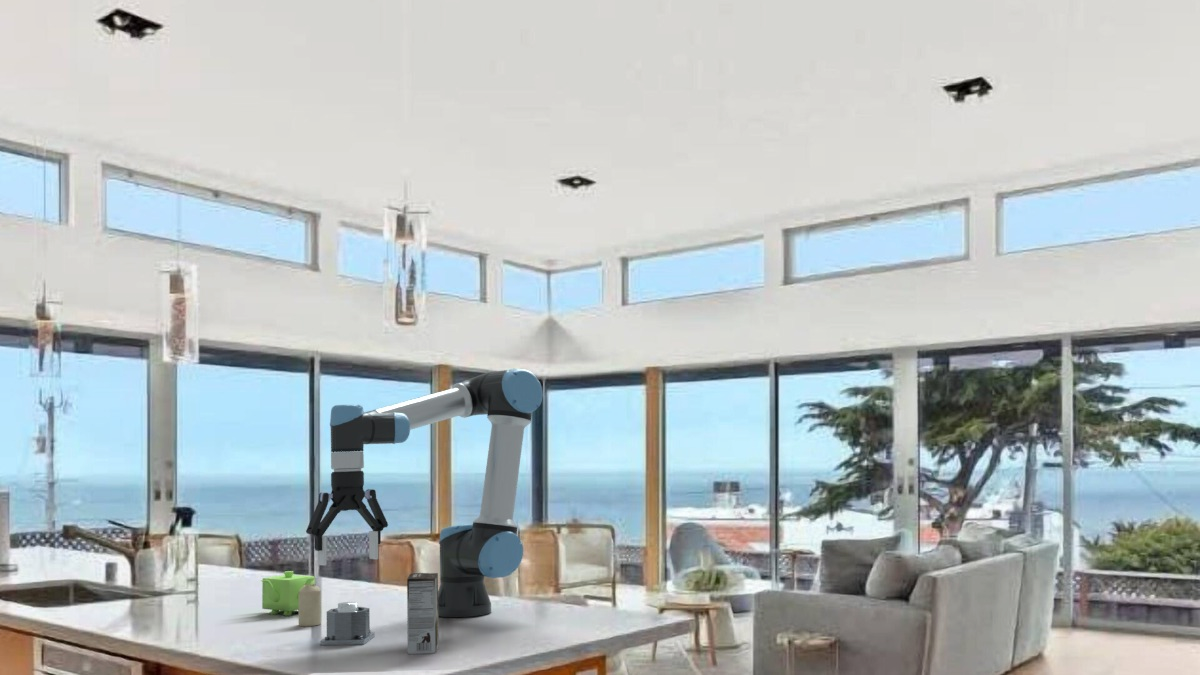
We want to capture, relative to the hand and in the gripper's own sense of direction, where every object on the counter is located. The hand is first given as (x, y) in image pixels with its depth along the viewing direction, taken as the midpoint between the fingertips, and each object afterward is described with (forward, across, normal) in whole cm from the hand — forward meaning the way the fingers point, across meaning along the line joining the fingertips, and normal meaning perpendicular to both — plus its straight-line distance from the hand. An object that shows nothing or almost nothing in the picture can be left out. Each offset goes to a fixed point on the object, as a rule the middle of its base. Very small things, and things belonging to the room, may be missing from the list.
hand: (348, 562), depth 252 cm
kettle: (+18, -11, -51) cm, 55 cm away
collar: (+17, 0, 0) cm, 17 cm away
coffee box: (+18, -5, +23) cm, 30 cm away
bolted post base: (+18, 0, 0) cm, 18 cm away
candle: (+18, -5, -28) cm, 34 cm away
